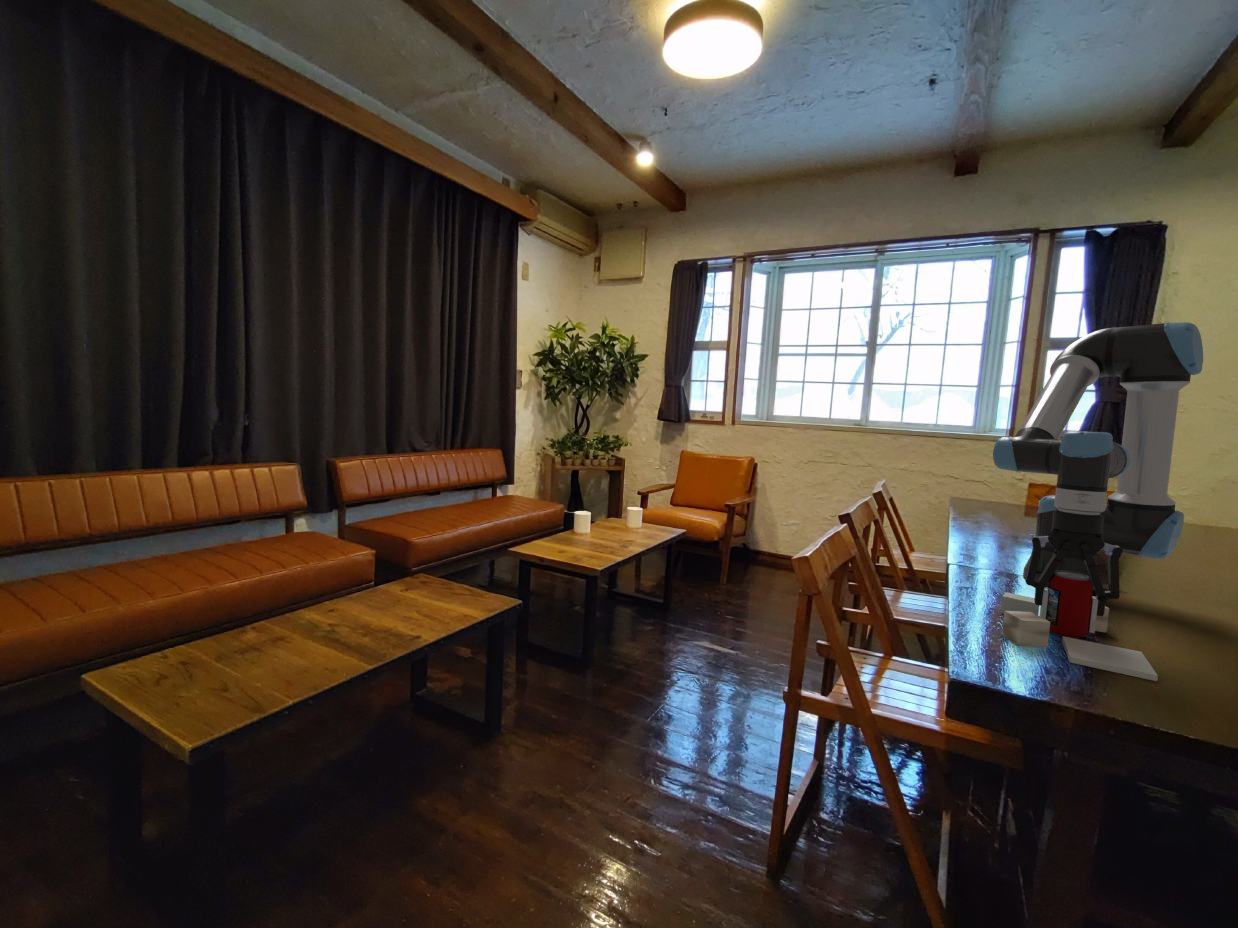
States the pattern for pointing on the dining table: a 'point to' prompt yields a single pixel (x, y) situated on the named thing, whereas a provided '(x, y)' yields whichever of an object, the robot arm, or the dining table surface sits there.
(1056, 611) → the beverage can
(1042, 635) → the maple block
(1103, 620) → the beech block
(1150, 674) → the plate
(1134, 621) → the dining table surface
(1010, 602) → the sage block
